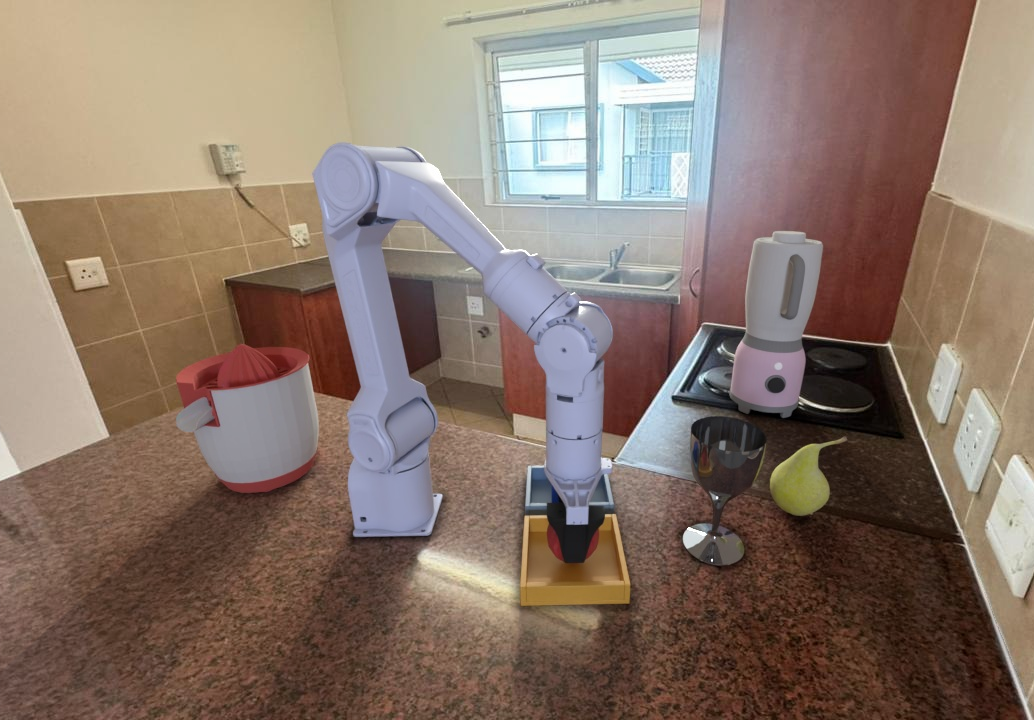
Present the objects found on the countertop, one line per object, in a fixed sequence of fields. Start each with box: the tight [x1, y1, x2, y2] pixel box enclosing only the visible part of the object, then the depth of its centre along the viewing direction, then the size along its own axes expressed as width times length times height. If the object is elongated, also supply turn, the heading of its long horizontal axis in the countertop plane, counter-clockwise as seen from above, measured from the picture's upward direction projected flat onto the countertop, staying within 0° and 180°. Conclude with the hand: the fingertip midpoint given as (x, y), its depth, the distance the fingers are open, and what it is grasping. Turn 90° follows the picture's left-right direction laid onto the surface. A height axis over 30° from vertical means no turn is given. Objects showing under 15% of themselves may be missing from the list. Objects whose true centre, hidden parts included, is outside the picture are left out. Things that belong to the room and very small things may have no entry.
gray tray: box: [524, 465, 615, 516], centre depth 67 cm, size 11×9×2 cm
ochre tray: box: [519, 513, 631, 607], centre depth 56 cm, size 11×11×2 cm
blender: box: [729, 230, 824, 419], centre depth 88 cm, size 16×12×32 cm
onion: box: [547, 524, 599, 564], centre depth 55 cm, size 6×6×8 cm
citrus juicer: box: [175, 343, 320, 494], centre depth 70 cm, size 16×17×20 cm
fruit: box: [769, 436, 848, 517], centre depth 64 cm, size 7×8×12 cm
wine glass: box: [682, 415, 768, 566], centre depth 57 cm, size 8×8×15 cm
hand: (572, 535), depth 55 cm, fingers open, 7 cm apart
